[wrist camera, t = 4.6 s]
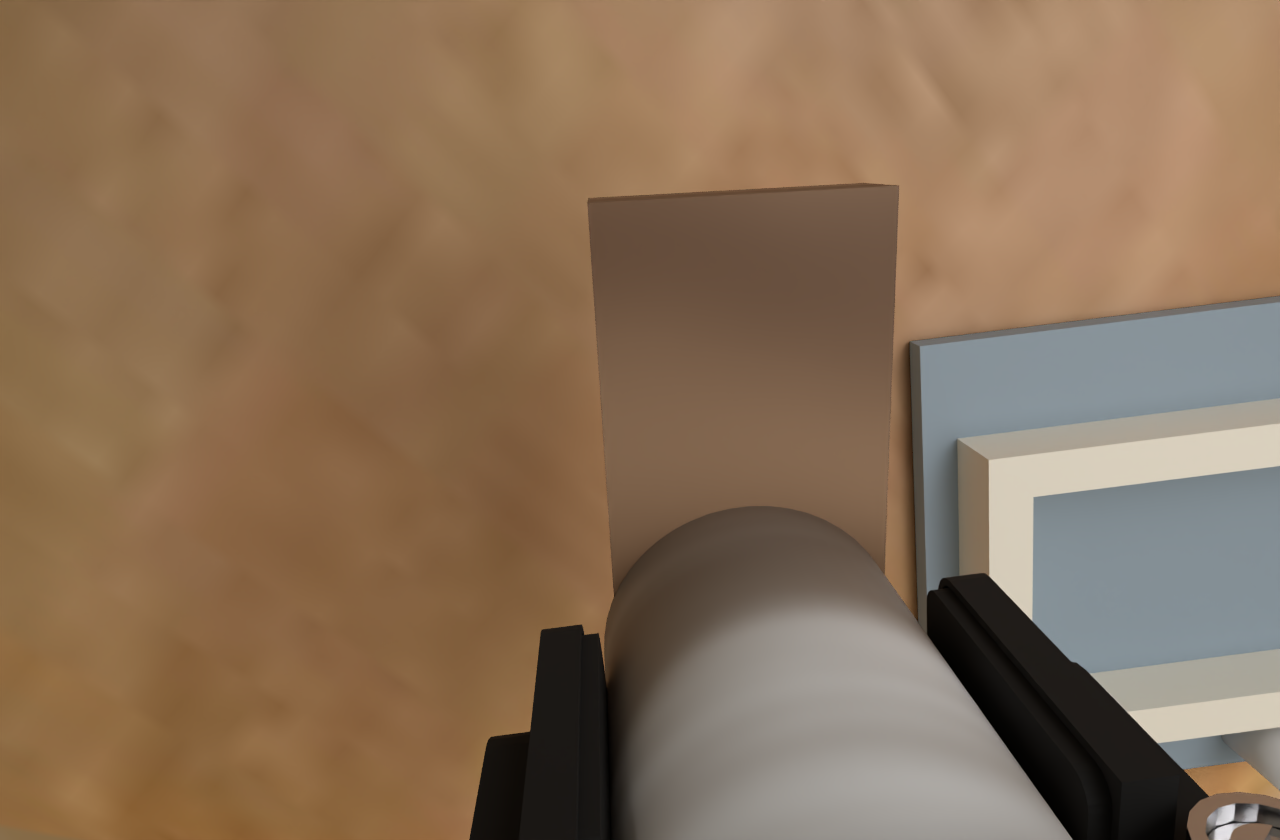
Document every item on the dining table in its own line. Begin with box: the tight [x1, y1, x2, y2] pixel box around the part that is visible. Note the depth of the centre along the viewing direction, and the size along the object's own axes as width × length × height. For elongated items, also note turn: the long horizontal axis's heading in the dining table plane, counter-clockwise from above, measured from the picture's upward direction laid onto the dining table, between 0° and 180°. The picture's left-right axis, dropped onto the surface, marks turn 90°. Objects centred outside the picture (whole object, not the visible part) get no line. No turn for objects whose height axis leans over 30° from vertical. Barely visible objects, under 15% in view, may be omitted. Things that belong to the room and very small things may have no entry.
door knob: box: [588, 183, 1073, 840], centre depth 11 cm, size 13×4×8 cm, turn 3°
